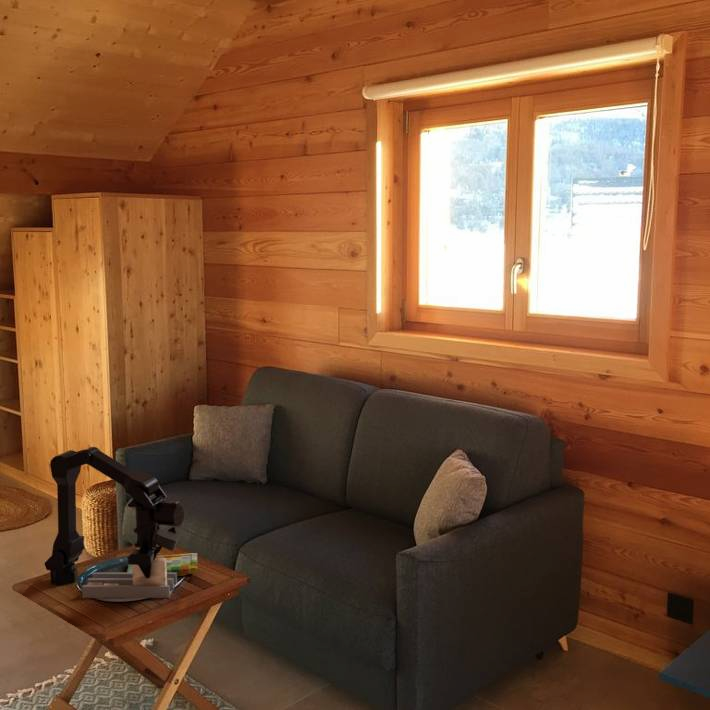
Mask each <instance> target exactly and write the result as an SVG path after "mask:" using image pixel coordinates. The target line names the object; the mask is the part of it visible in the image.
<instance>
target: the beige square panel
mask: <svg viewBox="0 0 710 710" xmlns="http://www.w3.org/2000/svg"><path fill="white" fill-rule="evenodd" d="M132 573H133V585H167V566H166V558H155V559H154V560H153V561H152V567H151V575H150V578H146V577H145V576H144V574H143V572H142V571H141V569H140V567H139V566H138V565H132Z"/></svg>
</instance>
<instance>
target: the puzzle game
mask: <svg viewBox="0 0 710 710" xmlns="http://www.w3.org/2000/svg"><path fill="white" fill-rule="evenodd" d="M156 558H166V566H167V572H177V577H180V576H186V575H193V574H196V573H198V568H199V567H198V553H197V552H195V553H192V552H191V553H177V554H176V553H175V554H162V555H161V554H160V555H157V556H156ZM126 572H132V565H129V564H128V563H127V570H126Z"/></svg>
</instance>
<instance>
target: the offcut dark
mask: <svg viewBox="0 0 710 710" xmlns="http://www.w3.org/2000/svg"><path fill="white" fill-rule="evenodd" d="M86 585H103V582H88V583H86Z"/></svg>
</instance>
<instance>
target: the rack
mask: <svg viewBox="0 0 710 710" xmlns="http://www.w3.org/2000/svg"><path fill="white" fill-rule="evenodd" d="M86 581H87V582H86V584H83V585H82V586H81V593H82V598H83V599H93V598H94V599H117V598H118V599H119V598H120V599H169V598H170V596H171V595H172V593H173V591H174V589H175V587H176V585H177V583H178V576H177V572H167V585H133V573H132V572H127V571H126V572H123V571H121V572H113V571H112V572H108V571H107V572H102V571H101V572H98V571H97V572H94V571H93V572H92V573H91V577H89V578H87V579H86ZM88 582H103V585H87V584H88ZM104 583H108V584H119V585H104Z"/></svg>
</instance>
